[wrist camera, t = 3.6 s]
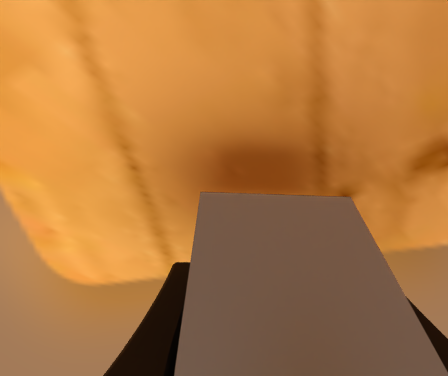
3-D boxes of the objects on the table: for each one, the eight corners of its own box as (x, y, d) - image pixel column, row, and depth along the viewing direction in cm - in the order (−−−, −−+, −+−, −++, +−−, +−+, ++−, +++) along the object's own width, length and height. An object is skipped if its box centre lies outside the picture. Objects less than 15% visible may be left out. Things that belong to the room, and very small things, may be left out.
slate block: (350, 197, 11) (457, 389, 6) (321, 295, 13) (376, 485, 8) (200, 191, 11) (173, 379, 6) (201, 291, 13) (184, 478, 8)
